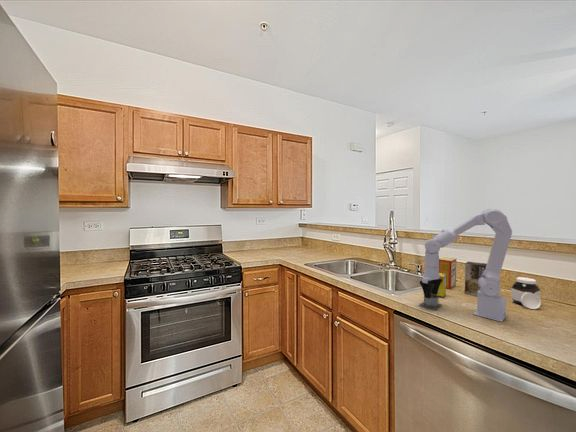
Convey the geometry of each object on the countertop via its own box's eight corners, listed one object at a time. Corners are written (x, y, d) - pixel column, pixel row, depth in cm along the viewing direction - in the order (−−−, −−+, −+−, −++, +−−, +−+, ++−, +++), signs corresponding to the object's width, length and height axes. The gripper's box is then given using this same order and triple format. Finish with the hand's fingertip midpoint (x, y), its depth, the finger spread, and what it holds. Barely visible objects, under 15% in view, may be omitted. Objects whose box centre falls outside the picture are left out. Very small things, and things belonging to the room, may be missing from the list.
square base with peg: (441, 306, 121) (442, 297, 121) (435, 310, 116) (436, 300, 116) (425, 302, 126) (425, 293, 126) (419, 305, 121) (419, 296, 121)
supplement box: (432, 292, 140) (433, 272, 140) (445, 295, 136) (446, 274, 136) (430, 295, 135) (430, 274, 135) (443, 298, 132) (444, 276, 131)
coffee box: (487, 294, 137) (488, 263, 137) (485, 297, 133) (486, 265, 132) (466, 290, 143) (467, 261, 143) (464, 293, 139) (465, 262, 138)
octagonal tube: (439, 304, 121) (439, 296, 121) (434, 307, 117) (435, 298, 117) (427, 301, 125) (427, 293, 125) (422, 304, 121) (422, 295, 121)
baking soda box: (442, 283, 157) (443, 256, 156) (455, 286, 152) (456, 258, 151) (437, 286, 150) (438, 258, 150) (450, 289, 146) (451, 260, 145)
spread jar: (525, 300, 130) (526, 276, 129) (552, 309, 118) (553, 283, 118) (504, 301, 127) (505, 277, 127) (529, 310, 116) (530, 284, 116)
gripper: (428, 262, 128) (428, 290, 129) (415, 266, 119) (414, 297, 119) (445, 265, 123) (444, 294, 123) (432, 269, 113) (431, 301, 114)
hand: (430, 296), depth 121 cm, fingers open, 7 cm apart
